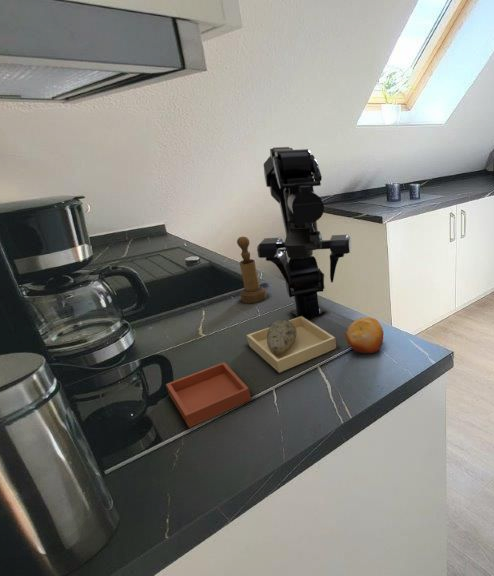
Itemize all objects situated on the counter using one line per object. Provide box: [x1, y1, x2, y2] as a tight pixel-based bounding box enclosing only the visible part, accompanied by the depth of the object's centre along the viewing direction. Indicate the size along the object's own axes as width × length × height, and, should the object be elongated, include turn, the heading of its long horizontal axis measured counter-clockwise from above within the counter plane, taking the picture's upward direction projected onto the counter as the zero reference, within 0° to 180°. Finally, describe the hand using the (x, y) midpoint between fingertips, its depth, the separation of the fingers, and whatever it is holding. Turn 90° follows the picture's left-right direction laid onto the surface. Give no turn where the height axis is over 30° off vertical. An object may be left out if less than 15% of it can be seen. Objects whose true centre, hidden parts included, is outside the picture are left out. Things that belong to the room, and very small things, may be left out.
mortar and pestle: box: [236, 236, 267, 304], centre depth 111 cm, size 7×6×18 cm
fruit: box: [344, 316, 384, 354], centre depth 88 cm, size 8×8×8 cm
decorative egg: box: [267, 319, 297, 354], centre depth 87 cm, size 6×6×10 cm
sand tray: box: [246, 316, 337, 374], centre depth 89 cm, size 15×13×3 cm
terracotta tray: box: [165, 361, 252, 429], centre depth 73 cm, size 12×10×2 cm
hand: (311, 283), depth 90 cm, fingers open, 9 cm apart
